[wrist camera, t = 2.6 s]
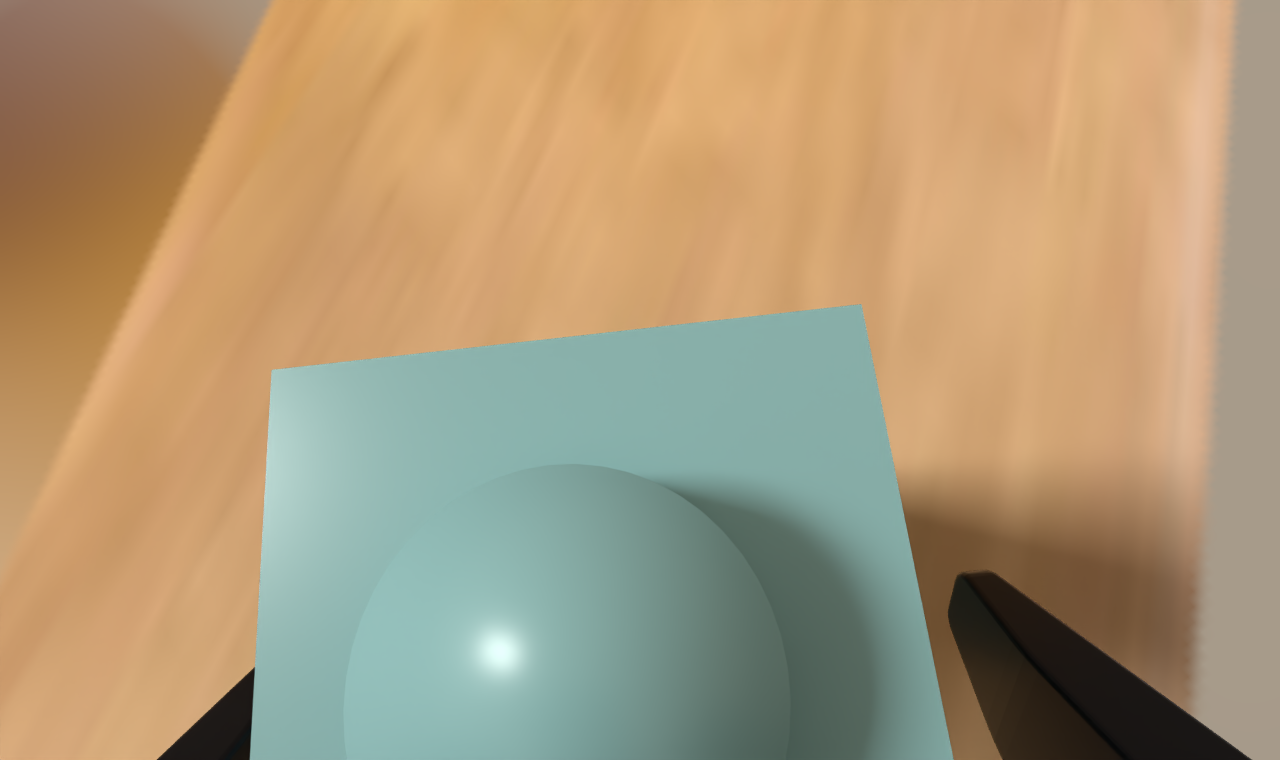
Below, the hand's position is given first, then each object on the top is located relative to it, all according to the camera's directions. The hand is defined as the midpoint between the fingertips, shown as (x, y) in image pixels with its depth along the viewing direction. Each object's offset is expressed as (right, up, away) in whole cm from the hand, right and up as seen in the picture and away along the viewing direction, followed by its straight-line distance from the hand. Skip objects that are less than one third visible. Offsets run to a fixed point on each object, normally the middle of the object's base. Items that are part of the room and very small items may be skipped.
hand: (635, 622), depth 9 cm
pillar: (0, -2, +8) cm, 8 cm away
